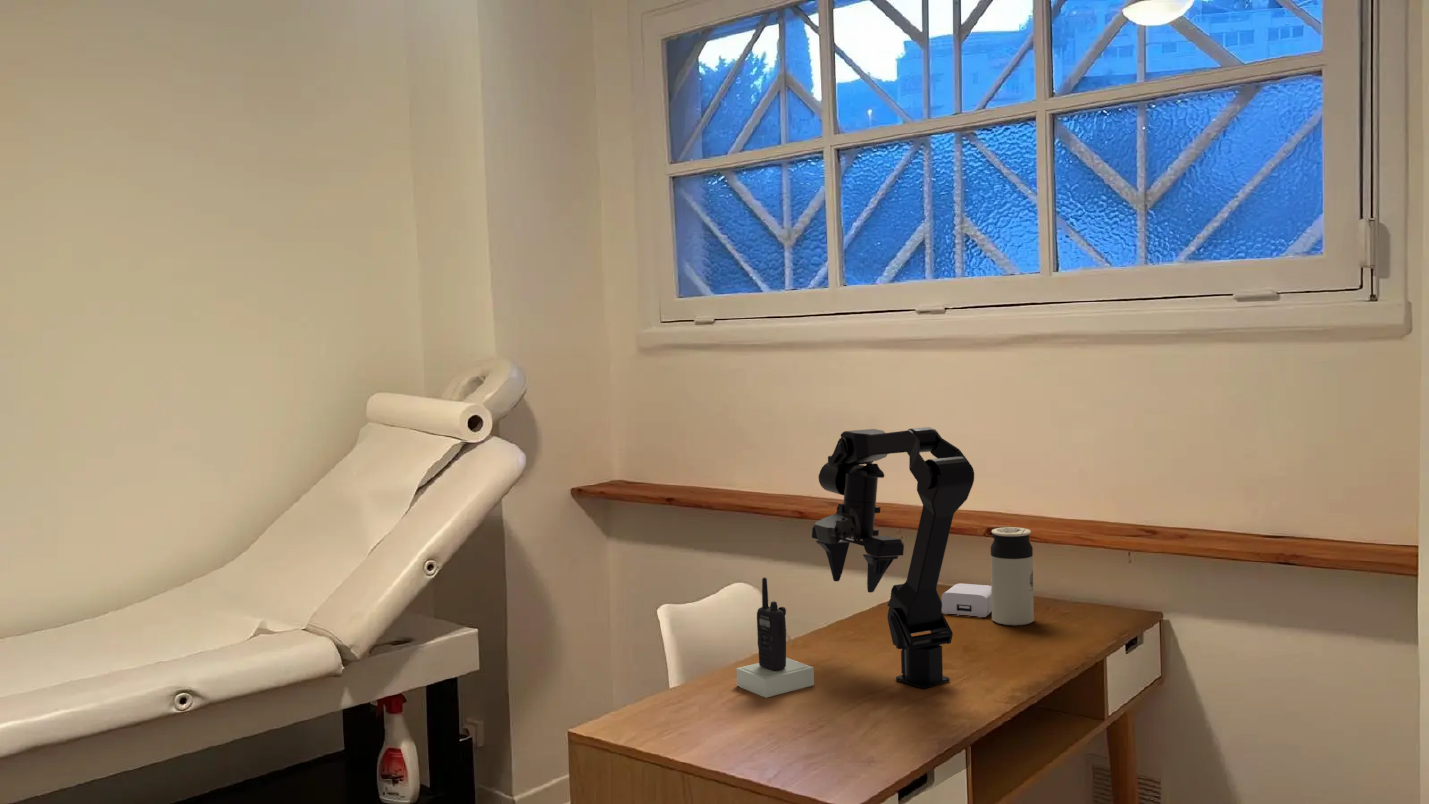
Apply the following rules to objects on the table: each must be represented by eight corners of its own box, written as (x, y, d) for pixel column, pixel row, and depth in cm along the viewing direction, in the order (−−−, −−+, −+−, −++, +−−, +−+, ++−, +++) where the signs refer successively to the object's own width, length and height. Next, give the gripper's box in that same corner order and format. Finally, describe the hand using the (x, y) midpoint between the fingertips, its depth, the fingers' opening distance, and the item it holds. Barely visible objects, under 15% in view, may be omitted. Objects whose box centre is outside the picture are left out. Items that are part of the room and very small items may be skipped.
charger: (1005, 602, 244) (987, 619, 231) (962, 598, 249) (941, 615, 235) (1004, 579, 244) (986, 595, 231) (961, 576, 248) (941, 592, 235)
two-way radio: (754, 666, 193) (751, 577, 192) (774, 660, 196) (772, 573, 195) (775, 673, 189) (773, 582, 188) (796, 667, 192) (793, 578, 191)
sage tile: (814, 685, 192) (813, 666, 192) (765, 697, 187) (765, 678, 186) (784, 674, 199) (784, 656, 199) (737, 685, 193) (736, 667, 193)
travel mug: (986, 623, 227) (984, 532, 225) (999, 614, 233) (997, 525, 232) (1026, 628, 222) (1025, 535, 221) (1038, 618, 229) (1037, 528, 228)
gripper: (791, 493, 209) (785, 578, 210) (860, 509, 194) (853, 601, 195) (838, 492, 216) (832, 574, 217) (909, 507, 200) (902, 597, 201)
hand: (853, 586), depth 207 cm, fingers open, 9 cm apart
